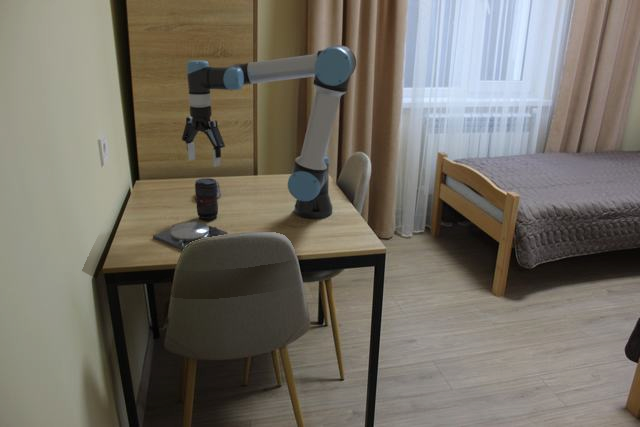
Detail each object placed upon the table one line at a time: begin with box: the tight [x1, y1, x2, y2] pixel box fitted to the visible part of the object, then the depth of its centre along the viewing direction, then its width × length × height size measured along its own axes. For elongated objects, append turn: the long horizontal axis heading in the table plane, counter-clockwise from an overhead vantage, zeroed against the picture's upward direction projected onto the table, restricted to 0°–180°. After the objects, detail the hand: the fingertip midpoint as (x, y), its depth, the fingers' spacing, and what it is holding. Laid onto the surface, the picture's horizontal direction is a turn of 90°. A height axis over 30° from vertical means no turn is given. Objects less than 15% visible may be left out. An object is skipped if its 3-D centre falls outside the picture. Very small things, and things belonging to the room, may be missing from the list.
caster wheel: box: [216, 181, 222, 199], centre depth 220 cm, size 7×11×10 cm
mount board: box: [152, 220, 228, 251], centre depth 179 cm, size 18×18×3 cm
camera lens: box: [194, 177, 219, 222], centre depth 194 cm, size 8×8×15 cm
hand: (204, 162), depth 191 cm, fingers open, 13 cm apart
